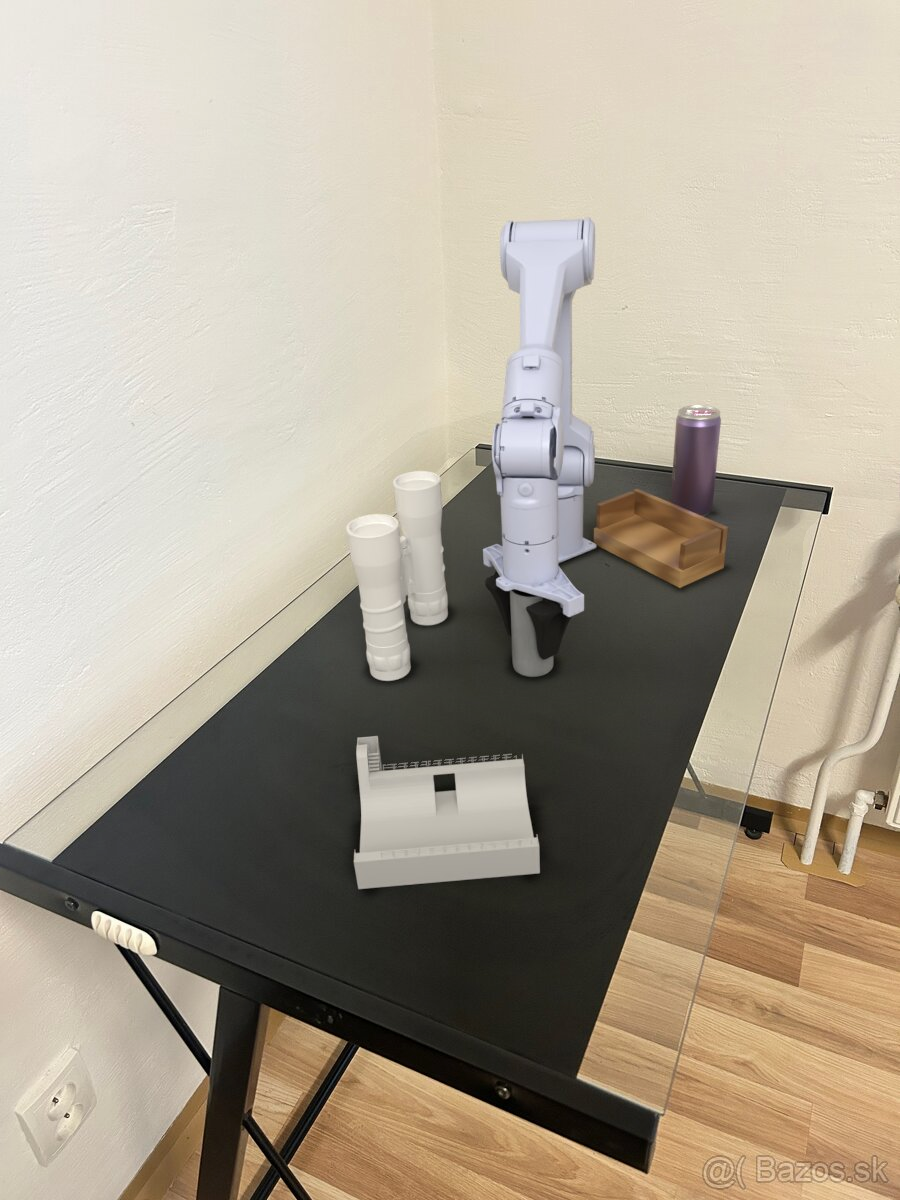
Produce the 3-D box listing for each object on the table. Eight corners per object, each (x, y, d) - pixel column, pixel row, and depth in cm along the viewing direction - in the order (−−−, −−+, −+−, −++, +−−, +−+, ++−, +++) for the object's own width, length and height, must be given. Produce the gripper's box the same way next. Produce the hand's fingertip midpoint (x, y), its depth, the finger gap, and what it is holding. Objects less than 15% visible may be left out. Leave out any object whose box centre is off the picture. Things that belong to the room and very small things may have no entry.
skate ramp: (358, 889, 72) (350, 845, 70) (363, 779, 84) (357, 737, 81) (539, 873, 73) (538, 828, 70) (520, 765, 84) (519, 723, 81)
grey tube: (526, 682, 95) (524, 600, 90) (505, 662, 99) (501, 582, 94) (561, 669, 97) (561, 588, 92) (539, 649, 100) (538, 570, 95)
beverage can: (713, 520, 125) (723, 419, 118) (670, 519, 127) (677, 418, 119) (711, 502, 130) (720, 404, 123) (669, 501, 132) (676, 404, 124)
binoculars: (417, 601, 112) (404, 468, 102) (457, 606, 110) (447, 472, 100) (358, 678, 98) (336, 534, 89) (403, 686, 96) (385, 539, 87)
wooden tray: (593, 543, 122) (594, 504, 119) (635, 526, 125) (637, 488, 122) (679, 588, 110) (683, 546, 107) (723, 568, 114) (728, 527, 111)
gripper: (457, 520, 93) (464, 628, 100) (544, 571, 82) (546, 688, 89) (510, 501, 96) (514, 607, 103) (601, 548, 86) (598, 663, 92)
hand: (532, 643), depth 96 cm, fingers open, 5 cm apart
